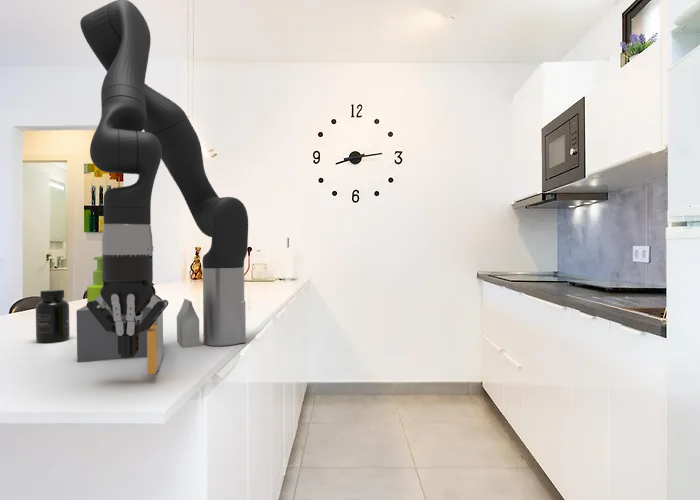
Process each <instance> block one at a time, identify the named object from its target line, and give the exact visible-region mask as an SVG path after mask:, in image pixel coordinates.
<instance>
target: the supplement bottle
mask: <svg viewBox="0 0 700 500" xmlns="http://www.w3.org/2000/svg"><path fill="white" fill-rule="evenodd" d="M64 298H65V290H64V289H48V290H40V296H39V299H40V300H41V301H40V302H38V303H37V304H36V306H35V340H36V342H37V343H39V344H40V343H41V344H47V343H48V344H49V343H58V342H64V341H67V340H68V339H70V334H71V333H70V328H71V327H70V305H69V302H68V301H66V300H65V299H64Z"/></svg>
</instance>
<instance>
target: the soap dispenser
mask: <svg viewBox="0 0 700 500" xmlns="http://www.w3.org/2000/svg"><path fill="white" fill-rule="evenodd" d="M93 260H94V261H96V269H95V270H93V271H92V275H93V276H92V279H93V281H92V282H93V283H92V284H91V285H88V286H87V290H86V292H87V293H86V295H87V297H86V298H87V302H86V304H87V303H88V302H90V301H93V300H95V299H96V298H97V297H98V296H100V291H101V289H102V287H103V279H102V256H94V257H93Z"/></svg>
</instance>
